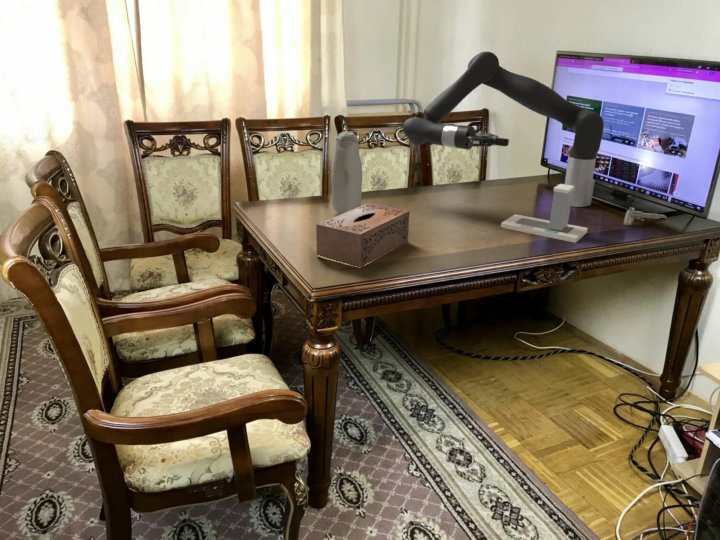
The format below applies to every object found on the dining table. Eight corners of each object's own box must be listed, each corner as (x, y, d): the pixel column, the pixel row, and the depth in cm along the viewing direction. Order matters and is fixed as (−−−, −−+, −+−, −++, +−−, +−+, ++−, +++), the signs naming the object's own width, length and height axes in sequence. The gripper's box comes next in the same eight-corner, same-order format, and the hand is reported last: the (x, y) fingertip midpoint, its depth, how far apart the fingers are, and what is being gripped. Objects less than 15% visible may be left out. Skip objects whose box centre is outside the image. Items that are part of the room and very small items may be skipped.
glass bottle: (329, 211, 203) (328, 129, 192) (357, 209, 205) (358, 128, 195) (334, 219, 194) (334, 134, 183) (364, 218, 196) (365, 133, 186)
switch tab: (547, 228, 183) (553, 187, 178) (554, 223, 188) (560, 183, 183) (561, 231, 181) (568, 190, 176) (568, 226, 185) (574, 185, 180)
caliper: (625, 226, 192) (629, 208, 190) (622, 225, 193) (626, 207, 191) (667, 218, 201) (671, 201, 198) (664, 218, 202) (668, 200, 199)
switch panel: (500, 227, 189) (501, 222, 188) (514, 218, 198) (515, 213, 198) (575, 242, 176) (576, 237, 176) (587, 232, 185) (587, 227, 185)
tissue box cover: (367, 233, 182) (368, 202, 179) (407, 243, 175) (409, 211, 171) (316, 258, 163) (316, 224, 159) (359, 270, 155) (360, 234, 151)
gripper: (449, 127, 188) (500, 133, 179) (468, 122, 198) (517, 128, 189) (448, 151, 191) (498, 158, 182) (466, 145, 201) (514, 151, 192)
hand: (507, 142), depth 185 cm, fingers closed
